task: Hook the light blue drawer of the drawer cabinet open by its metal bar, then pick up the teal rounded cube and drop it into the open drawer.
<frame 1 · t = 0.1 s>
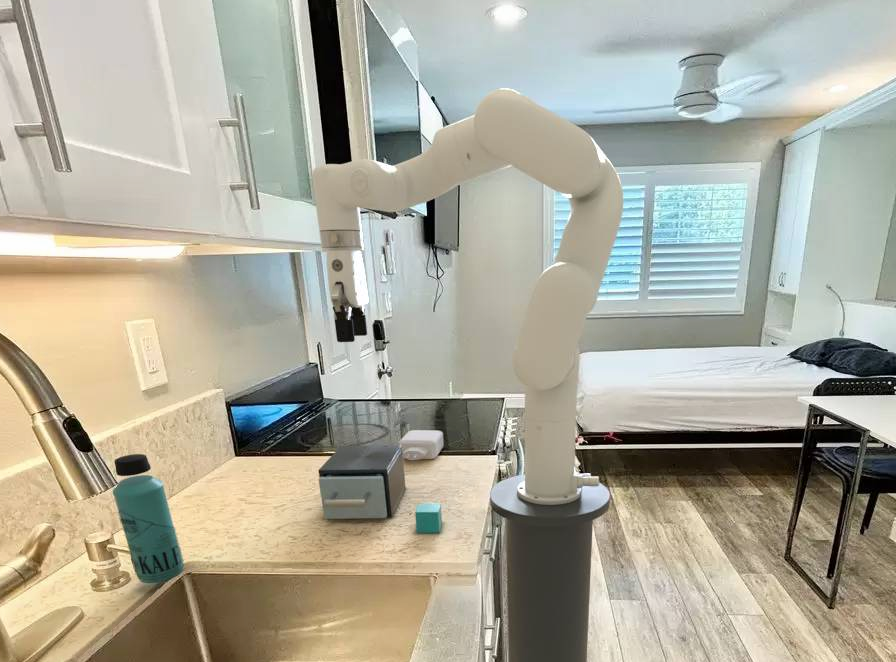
hand: (353, 338, 111), 31 cm above the worktop, tool pointing down, fingers open, 9 cm apart
charger: (419, 458, 139), on the worktop
teal rounded cube: (429, 528, 102), on the worktop
drawer cabinet: (367, 502, 113), on the worktop
beverage bottle: (164, 583, 86), on the worktop
light blue drawer: (358, 490, 107), point 5 cm above the worktop, slide at 1.0 cm
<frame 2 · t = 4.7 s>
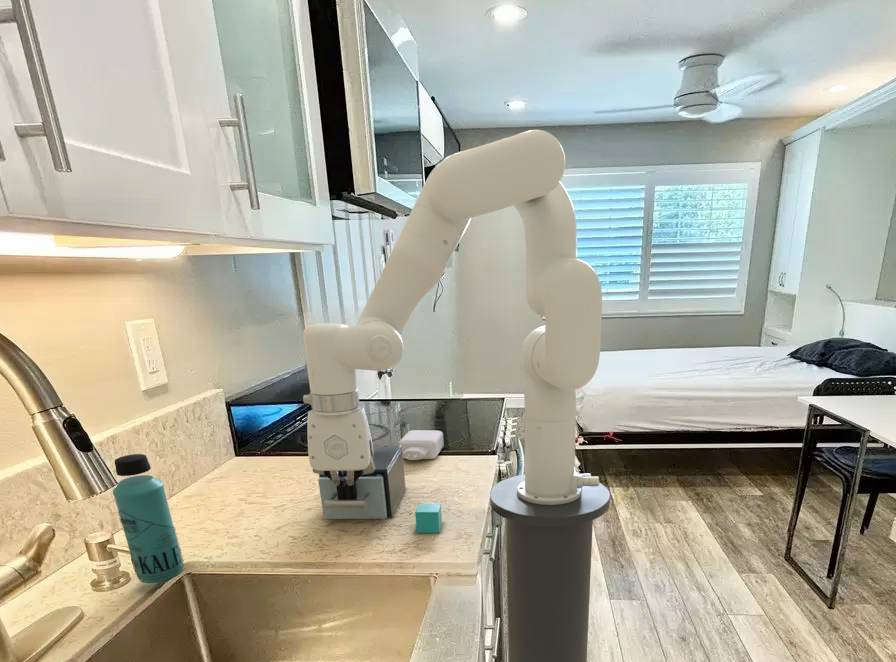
hand: (348, 503, 101), 5 cm above the worktop, tool pointing down, fingers closed
light blue drawer: (358, 490, 107), point 5 cm above the worktop, slide at 1.2 cm, touching gripper
everything else where it was.
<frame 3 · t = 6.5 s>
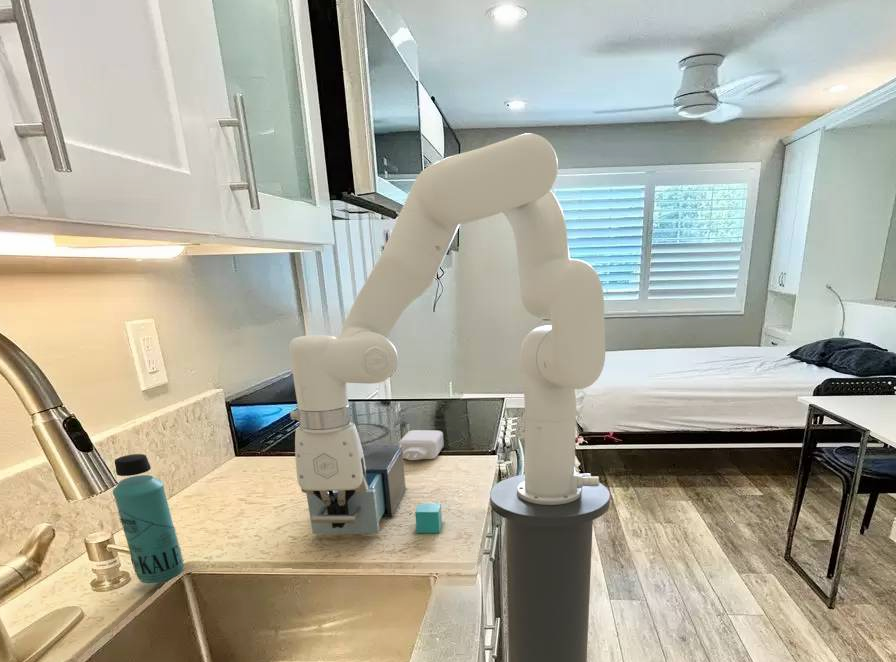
hand: (339, 524, 95), 4 cm above the worktop, tool pointing down, fingers closed
light blue drawer: (349, 503, 101), point 5 cm above the worktop, slide at 7.5 cm, touching gripper
everything else where it was.
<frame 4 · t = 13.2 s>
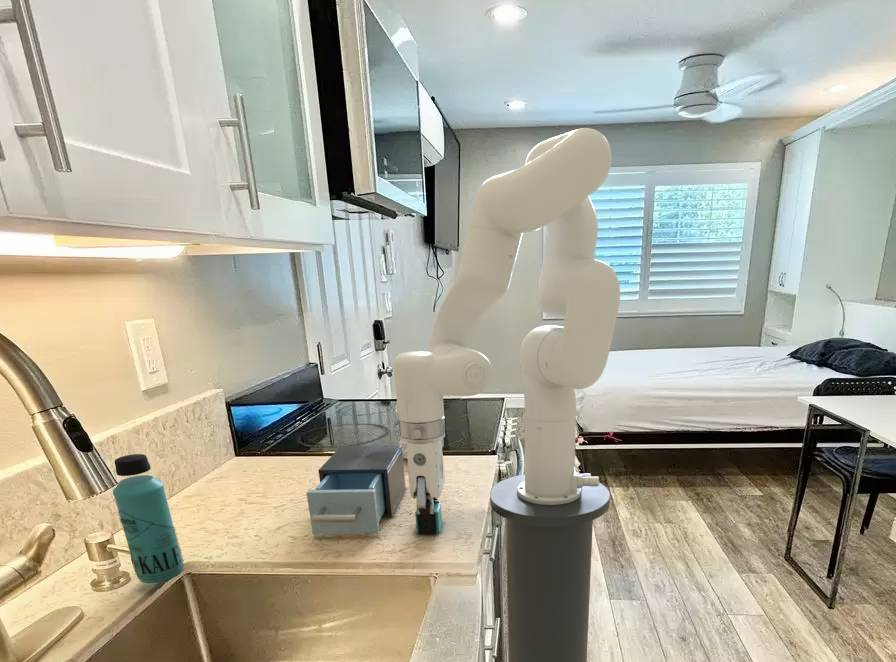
hand: (429, 526, 102), 0 cm above the worktop, tool pointing down, fingers closed on teal rounded cube, 4 cm apart
teal rounded cube: (429, 528, 102), on the worktop, touching gripper
light blue drawer: (349, 503, 101), point 5 cm above the worktop, slide at 7.4 cm
everything else where it was.
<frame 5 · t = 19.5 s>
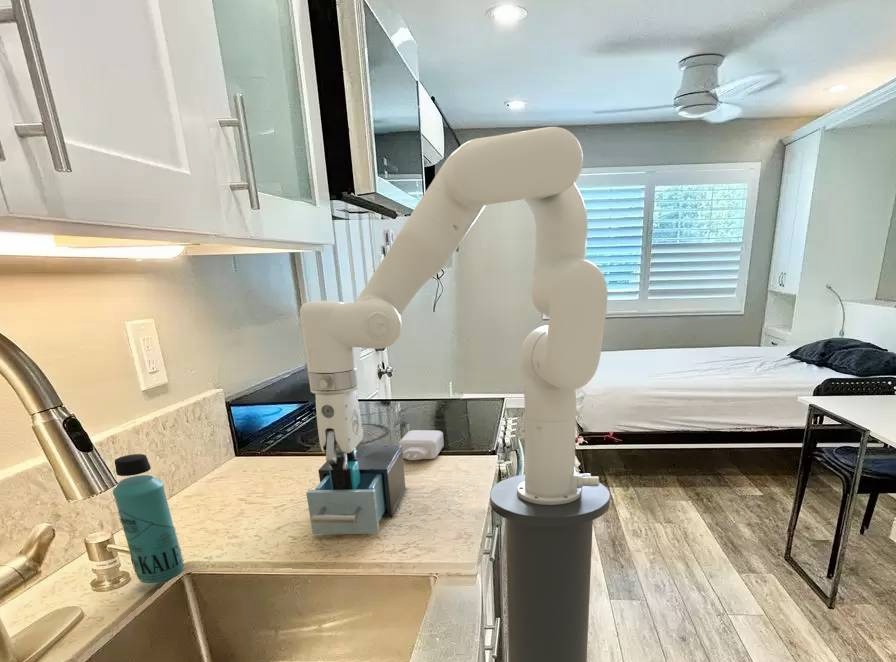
hand: (346, 484, 99), 8 cm above the worktop, tool pointing down, fingers closed on teal rounded cube, 3 cm apart
teal rounded cube: (346, 486, 100), point 8 cm above the worktop, touching gripper
everything else where it was.
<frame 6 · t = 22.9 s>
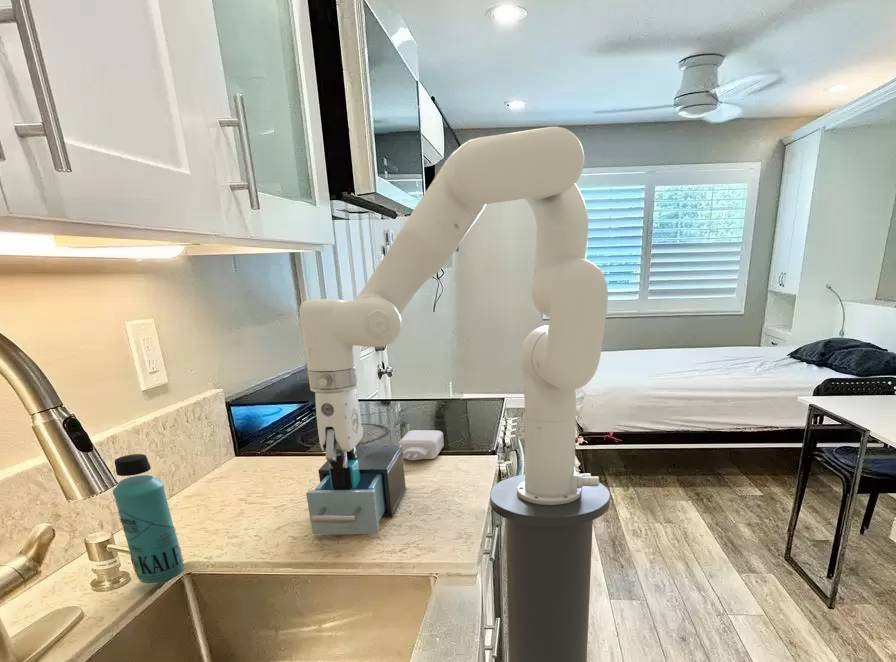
hand: (346, 483, 99), 9 cm above the worktop, tool pointing down, fingers closed on teal rounded cube, 3 cm apart
teal rounded cube: (346, 484, 99), point 8 cm above the worktop, touching gripper
everything else where it was.
when the fingers open (10 cm above the worktop, at t = 25.8 s): teal rounded cube drops 8 cm, resting on light blue drawer.
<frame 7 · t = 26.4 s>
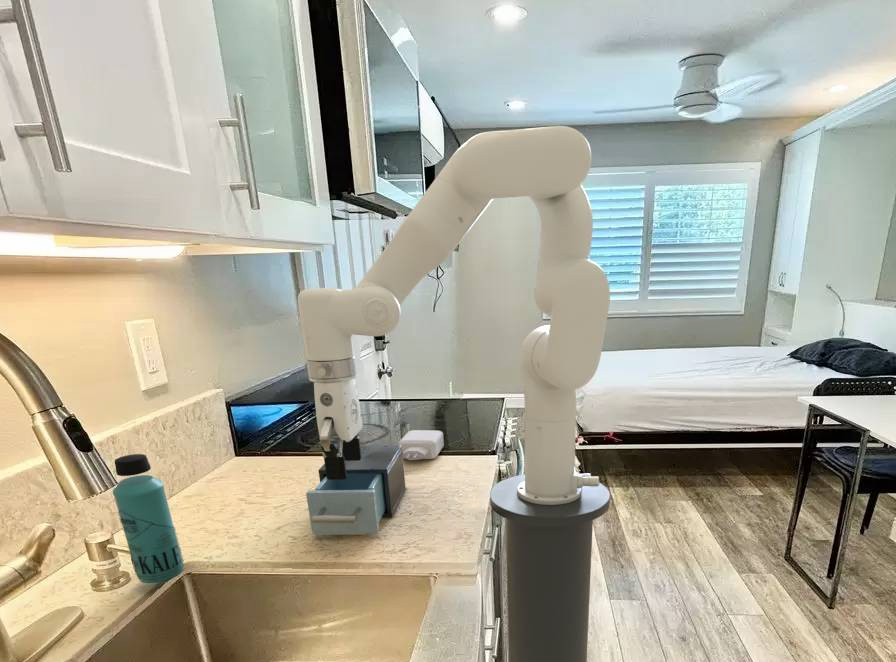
hand: (345, 469, 98), 11 cm above the worktop, tool pointing down, fingers open, 9 cm apart
teal rounded cube: (350, 517, 102), point 2 cm above the worktop, touching light blue drawer
light blue drawer: (349, 503, 101), point 5 cm above the worktop, slide at 7.6 cm, touching teal rounded cube
everything else where it was.
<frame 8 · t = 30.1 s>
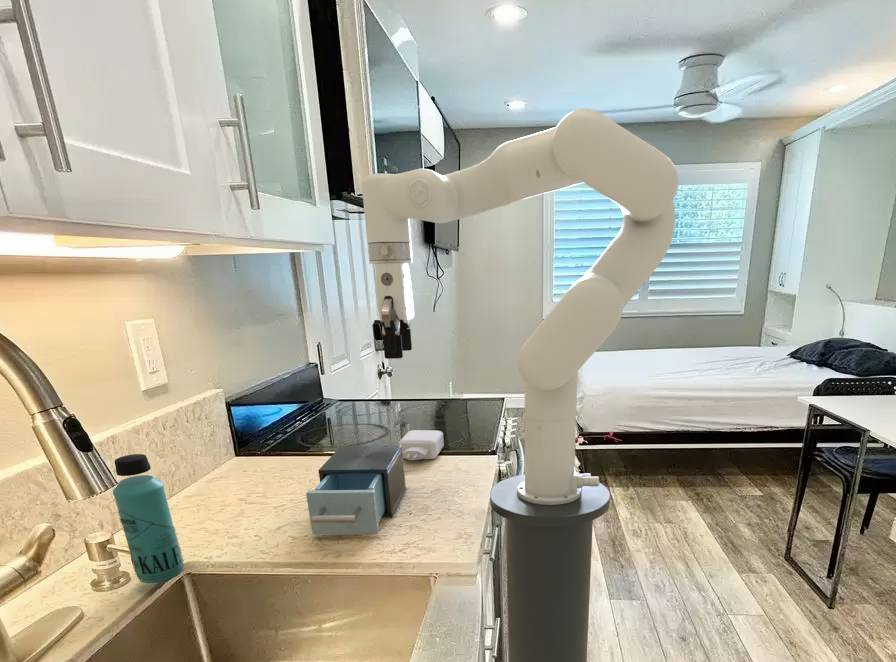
hand: (399, 354, 106), 28 cm above the worktop, tool pointing down, fingers open, 9 cm apart
nothing on the worktop moved.
at the end: light blue drawer slide at 7.6 cm; teal rounded cube inside the target area in the drawer cabinet (7.0 cm from its centre), point 2.0 cm above the drawer cabinet's base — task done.
